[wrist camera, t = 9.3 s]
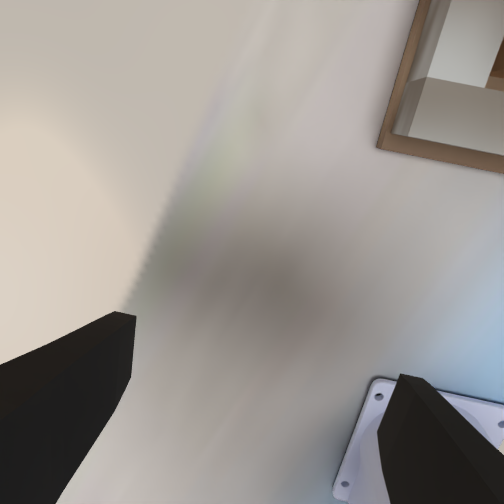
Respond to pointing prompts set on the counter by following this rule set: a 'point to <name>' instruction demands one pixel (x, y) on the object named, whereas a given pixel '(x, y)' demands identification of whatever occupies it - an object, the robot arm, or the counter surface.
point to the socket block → (450, 86)
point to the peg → (499, 63)
